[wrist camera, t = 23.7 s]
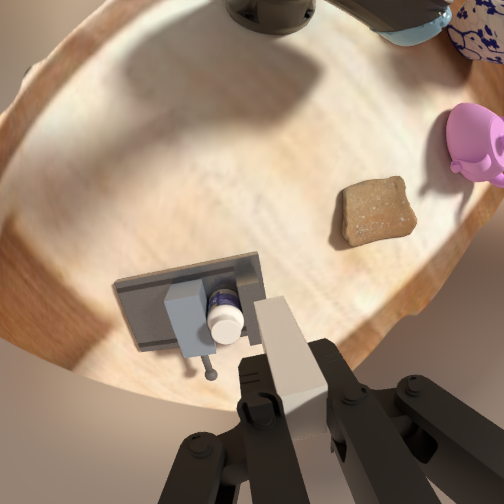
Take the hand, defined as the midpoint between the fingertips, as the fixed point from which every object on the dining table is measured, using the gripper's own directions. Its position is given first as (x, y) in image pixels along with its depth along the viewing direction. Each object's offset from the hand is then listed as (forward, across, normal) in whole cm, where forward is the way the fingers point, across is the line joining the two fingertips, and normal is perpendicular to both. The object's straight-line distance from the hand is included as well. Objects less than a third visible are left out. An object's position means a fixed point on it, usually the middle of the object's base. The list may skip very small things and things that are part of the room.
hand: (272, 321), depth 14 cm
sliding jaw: (+28, -10, -16) cm, 33 cm away
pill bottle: (+28, -5, -12) cm, 31 cm away
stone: (+30, +24, -2) cm, 39 cm away
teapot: (+30, +52, +8) cm, 60 cm away
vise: (+29, -10, -12) cm, 33 cm away
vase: (+30, +62, +38) cm, 79 cm away
